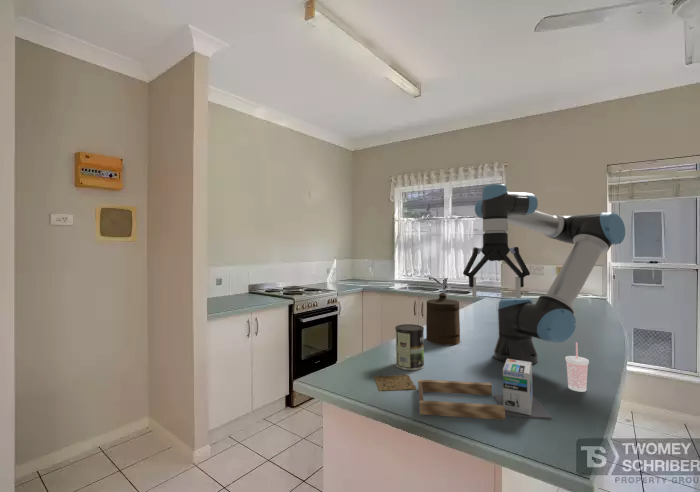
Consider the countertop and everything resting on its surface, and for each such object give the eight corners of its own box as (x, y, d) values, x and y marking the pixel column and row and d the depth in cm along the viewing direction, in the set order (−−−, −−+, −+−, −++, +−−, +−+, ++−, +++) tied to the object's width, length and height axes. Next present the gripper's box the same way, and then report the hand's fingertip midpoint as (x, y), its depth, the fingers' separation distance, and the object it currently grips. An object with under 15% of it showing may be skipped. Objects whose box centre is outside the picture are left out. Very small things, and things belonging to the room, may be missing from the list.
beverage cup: (561, 384, 109) (560, 339, 109) (581, 384, 109) (580, 339, 109) (573, 392, 103) (572, 345, 103) (594, 392, 103) (593, 345, 103)
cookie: (373, 377, 118) (373, 374, 118) (408, 376, 119) (408, 373, 119) (377, 392, 106) (377, 389, 106) (417, 391, 107) (417, 388, 107)
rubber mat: (534, 398, 100) (534, 397, 100) (551, 419, 88) (551, 417, 88) (493, 396, 102) (493, 394, 102) (505, 416, 90) (505, 414, 90)
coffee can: (424, 361, 132) (423, 324, 132) (424, 371, 122) (423, 331, 122) (396, 360, 134) (396, 323, 134) (394, 369, 124) (394, 330, 124)
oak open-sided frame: (490, 393, 104) (490, 383, 104) (505, 419, 88) (505, 407, 88) (418, 389, 107) (418, 379, 107) (419, 414, 91) (419, 402, 91)
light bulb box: (531, 416, 89) (530, 373, 89) (502, 410, 92) (502, 369, 92) (533, 399, 98) (532, 361, 98) (506, 395, 101) (506, 357, 101)
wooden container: (458, 337, 166) (458, 291, 166) (461, 346, 151) (460, 295, 151) (426, 336, 169) (426, 290, 169) (426, 344, 155) (425, 294, 155)
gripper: (531, 232, 116) (532, 295, 116) (454, 233, 120) (455, 295, 120) (540, 231, 109) (541, 299, 109) (457, 232, 113) (458, 298, 113)
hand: (496, 297), depth 115 cm, fingers open, 13 cm apart
